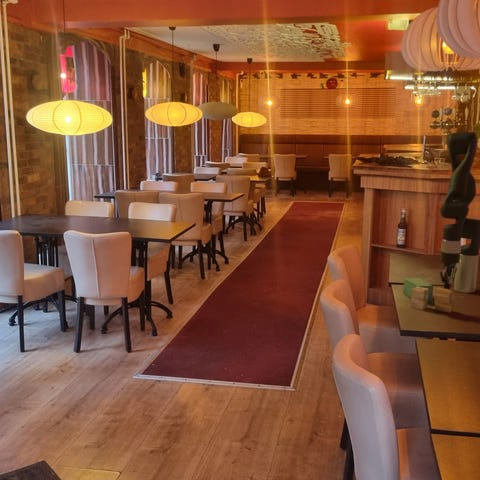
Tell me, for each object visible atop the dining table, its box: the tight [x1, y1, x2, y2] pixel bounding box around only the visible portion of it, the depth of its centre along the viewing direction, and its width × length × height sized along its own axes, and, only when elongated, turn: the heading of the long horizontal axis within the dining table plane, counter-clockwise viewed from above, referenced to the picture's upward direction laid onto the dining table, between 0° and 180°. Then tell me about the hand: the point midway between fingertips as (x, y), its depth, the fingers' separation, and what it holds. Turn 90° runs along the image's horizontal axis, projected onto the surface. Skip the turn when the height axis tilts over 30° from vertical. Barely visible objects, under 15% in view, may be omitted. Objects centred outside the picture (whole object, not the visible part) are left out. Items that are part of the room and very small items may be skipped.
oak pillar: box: [433, 287, 455, 314], centre depth 247 cm, size 4×6×9 cm
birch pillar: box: [410, 287, 428, 311], centre depth 253 cm, size 5×5×8 cm
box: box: [402, 277, 434, 303], centre depth 267 cm, size 7×14×8 cm, turn 11°
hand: (446, 291), depth 249 cm, fingers closed
